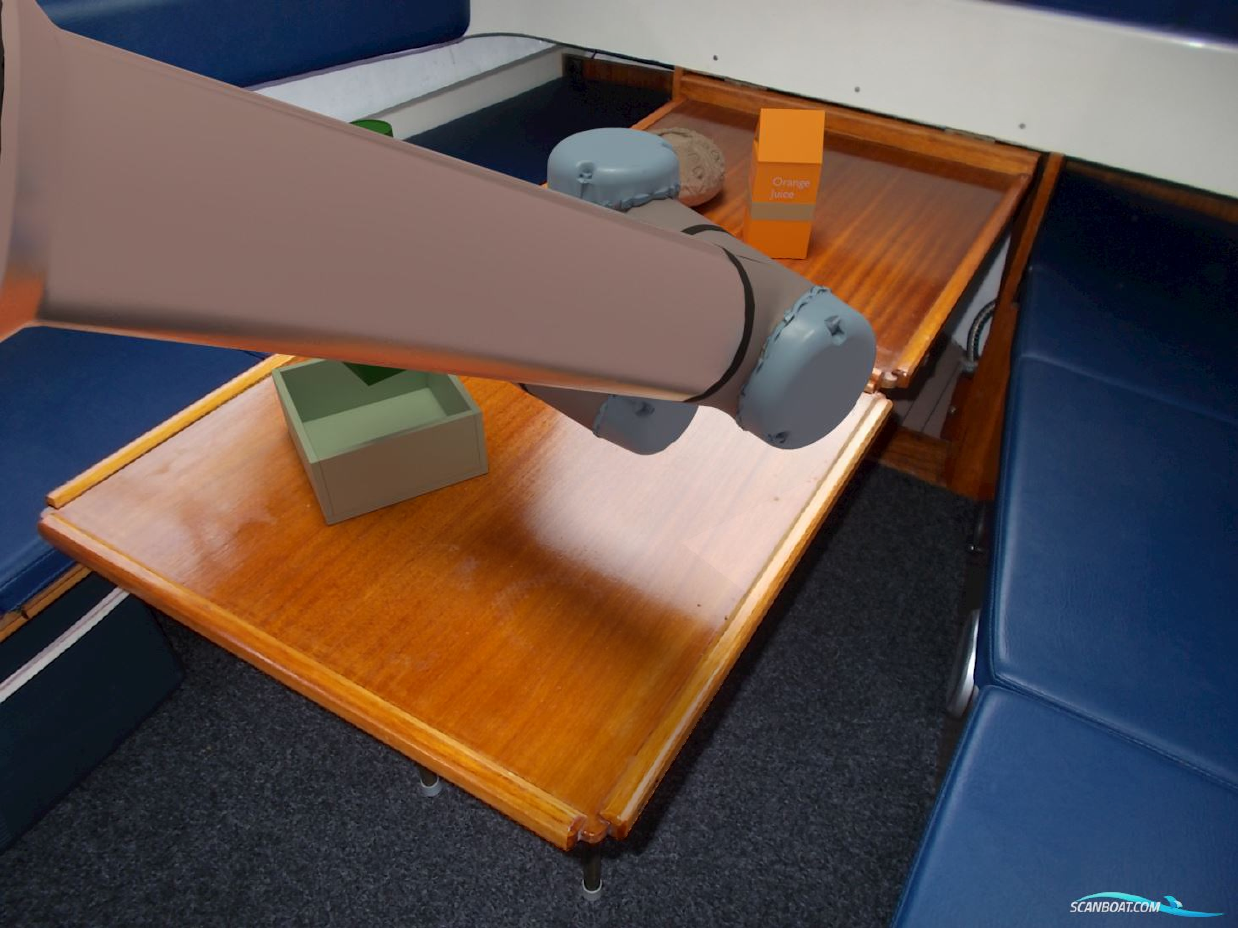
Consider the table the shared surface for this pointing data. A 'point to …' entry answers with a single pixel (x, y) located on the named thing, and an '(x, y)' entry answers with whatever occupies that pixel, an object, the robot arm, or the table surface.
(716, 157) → the decorative shell
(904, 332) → the table surface
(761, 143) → the orange juice
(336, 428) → the open box
